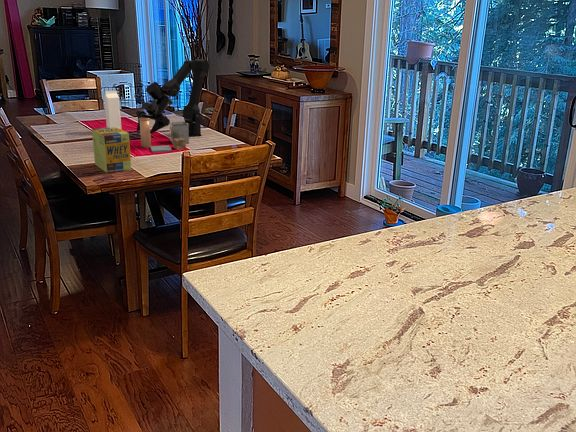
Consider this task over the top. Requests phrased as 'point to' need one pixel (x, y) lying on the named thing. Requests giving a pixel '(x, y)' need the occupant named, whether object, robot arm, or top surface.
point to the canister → (145, 132)
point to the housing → (179, 131)
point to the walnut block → (179, 143)
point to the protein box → (111, 149)
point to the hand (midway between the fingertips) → (143, 132)
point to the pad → (160, 148)
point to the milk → (112, 109)
